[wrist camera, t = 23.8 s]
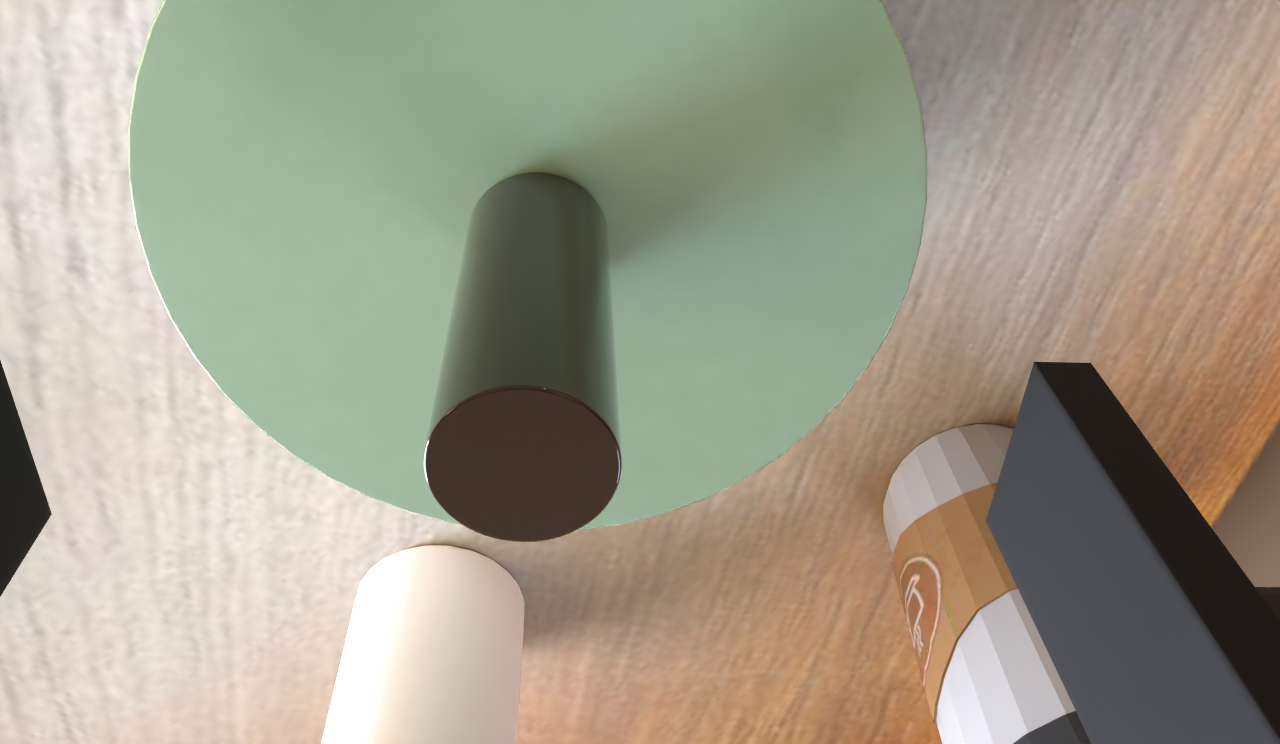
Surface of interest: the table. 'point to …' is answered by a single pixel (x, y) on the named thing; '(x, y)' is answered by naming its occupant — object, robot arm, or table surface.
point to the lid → (530, 236)
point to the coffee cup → (970, 599)
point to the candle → (431, 653)
